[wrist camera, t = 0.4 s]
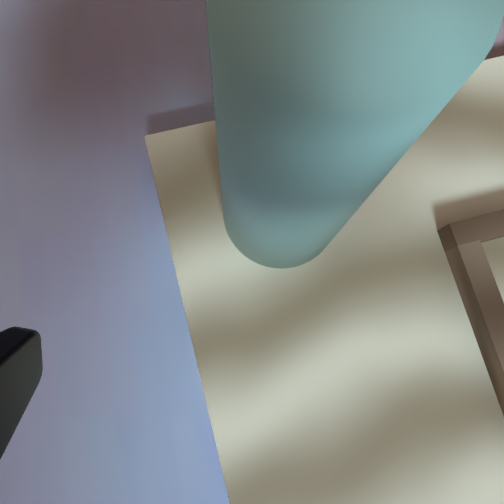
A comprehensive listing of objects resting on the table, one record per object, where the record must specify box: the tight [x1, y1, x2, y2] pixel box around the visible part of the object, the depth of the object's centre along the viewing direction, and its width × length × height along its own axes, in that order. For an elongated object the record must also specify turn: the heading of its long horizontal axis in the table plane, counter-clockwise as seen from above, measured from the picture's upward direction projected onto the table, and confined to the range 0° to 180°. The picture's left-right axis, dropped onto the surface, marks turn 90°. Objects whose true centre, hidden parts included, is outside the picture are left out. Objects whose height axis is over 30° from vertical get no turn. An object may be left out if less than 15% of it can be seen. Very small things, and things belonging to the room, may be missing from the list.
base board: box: [144, 56, 504, 504], centre depth 20 cm, size 19×23×3 cm
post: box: [205, 0, 504, 269], centre depth 14 cm, size 5×5×13 cm
